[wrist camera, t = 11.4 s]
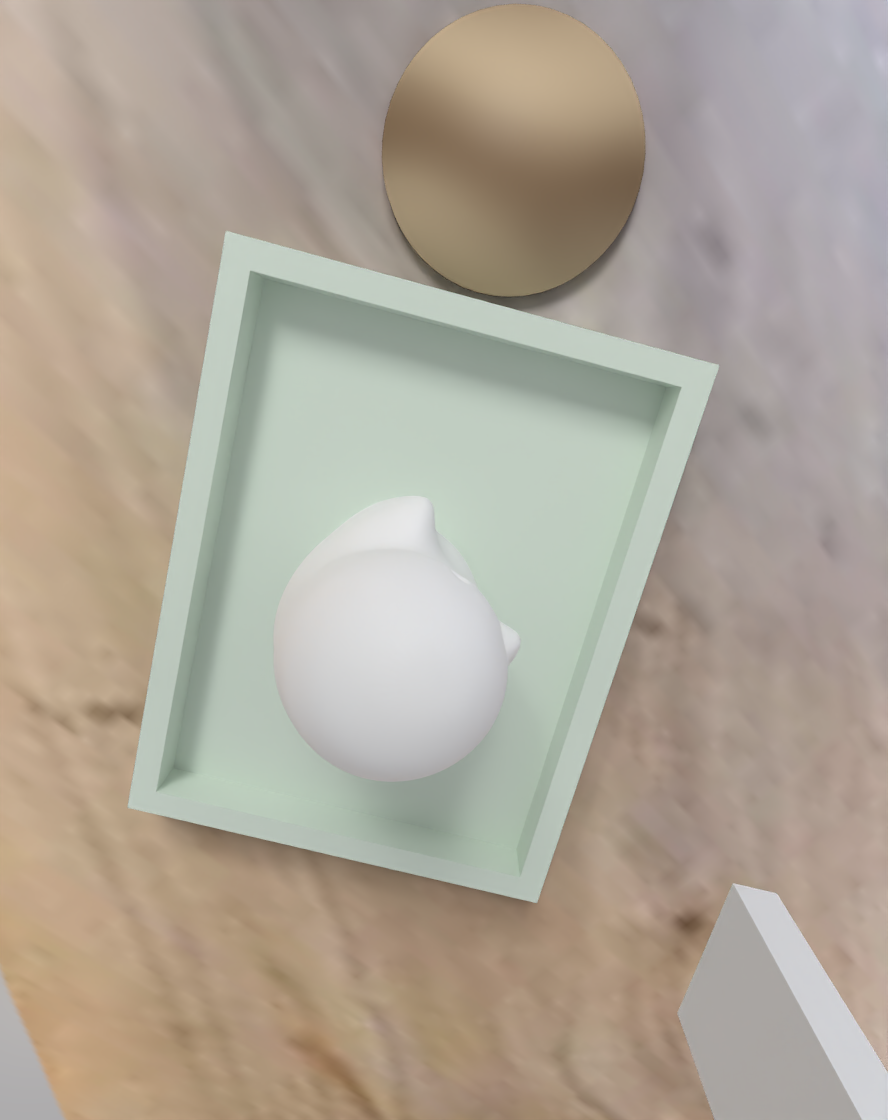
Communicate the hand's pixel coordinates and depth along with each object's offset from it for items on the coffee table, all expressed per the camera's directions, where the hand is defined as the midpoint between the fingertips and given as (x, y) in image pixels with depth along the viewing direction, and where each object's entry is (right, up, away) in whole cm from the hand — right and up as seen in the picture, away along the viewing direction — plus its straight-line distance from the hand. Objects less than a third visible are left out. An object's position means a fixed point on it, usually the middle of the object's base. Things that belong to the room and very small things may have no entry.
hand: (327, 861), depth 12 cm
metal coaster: (+4, +19, +13) cm, 23 cm away
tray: (0, +4, +17) cm, 18 cm away
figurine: (0, +4, +17) cm, 17 cm away
